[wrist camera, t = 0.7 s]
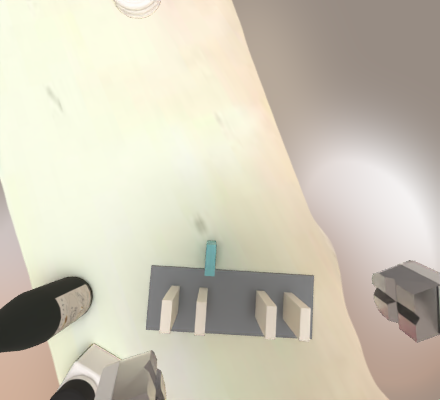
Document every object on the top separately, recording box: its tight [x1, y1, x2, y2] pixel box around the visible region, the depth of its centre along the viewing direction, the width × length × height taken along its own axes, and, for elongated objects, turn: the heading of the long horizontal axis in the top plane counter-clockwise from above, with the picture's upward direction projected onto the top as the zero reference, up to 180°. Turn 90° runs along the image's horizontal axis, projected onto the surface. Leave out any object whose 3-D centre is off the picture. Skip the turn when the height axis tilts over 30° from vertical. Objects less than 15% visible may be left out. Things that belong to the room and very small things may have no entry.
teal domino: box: [205, 241, 217, 276], centre depth 48 cm, size 2×5×10 cm, turn 176°
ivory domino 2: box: [194, 287, 208, 336], centre depth 47 cm, size 2×5×10 cm, turn 176°
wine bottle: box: [0, 277, 92, 353], centre depth 37 cm, size 8×8×30 cm
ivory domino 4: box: [283, 292, 311, 341], centre depth 47 cm, size 2×5×10 cm, turn 176°
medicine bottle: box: [50, 344, 121, 400], centre depth 44 cm, size 7×7×12 cm
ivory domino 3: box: [255, 290, 277, 339], centre depth 47 cm, size 2×5×10 cm, turn 177°
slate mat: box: [146, 265, 314, 339], centre depth 52 cm, size 32×12×1 cm, turn 86°
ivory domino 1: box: [159, 286, 180, 334], centre depth 47 cm, size 2×5×10 cm, turn 176°
